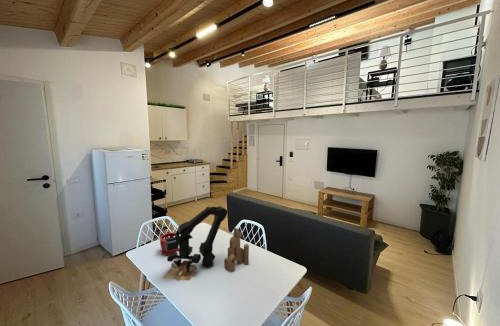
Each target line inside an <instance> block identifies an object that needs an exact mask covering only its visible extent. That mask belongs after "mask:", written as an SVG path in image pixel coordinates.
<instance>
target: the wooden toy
mask: <svg viewBox="0 0 500 326" xmlns="http://www.w3.org/2000/svg"><path fill="white" fill-rule="evenodd" d="M242 236H244V233H243V232H241V231H240V230H239V229H238V228H236V227H233V236H231V237H230V239H229V247H228V248H227V257H225V258H224V259H223V260H224V265H223V266H224V269H225V270H226V271H228V273H229V272H230V273H232V272H235V271H236V263H237V264H238V265H242V264H244V265H246V266H248V265H249V260H250V259H249V256H250V255H249V253H250V248H249V247H250V245H249V244H248V243H244V244H243V248H242V247H241V237H242Z"/></svg>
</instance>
